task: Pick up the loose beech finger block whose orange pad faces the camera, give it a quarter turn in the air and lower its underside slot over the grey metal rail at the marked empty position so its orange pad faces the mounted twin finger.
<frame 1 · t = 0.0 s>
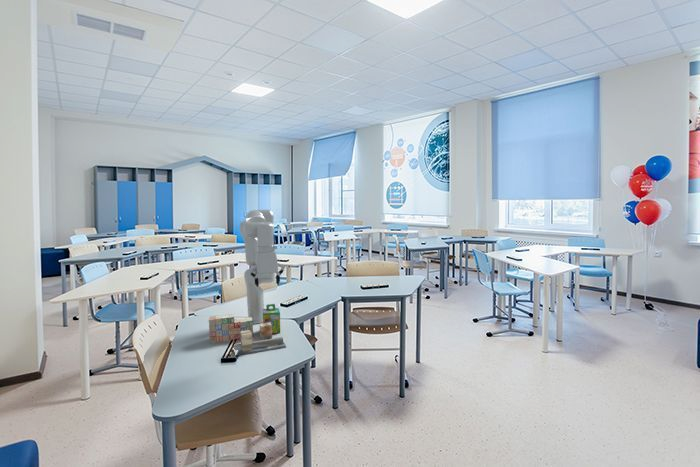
hand: (267, 284, 179), 31 cm above the table, fingers open, 9 cm apart
rail fixture: (259, 348, 182), on the table
chalk box: (271, 331, 205), on the table
finger block: (266, 339, 193), on the table
stack of blocks: (232, 338, 197), on the table
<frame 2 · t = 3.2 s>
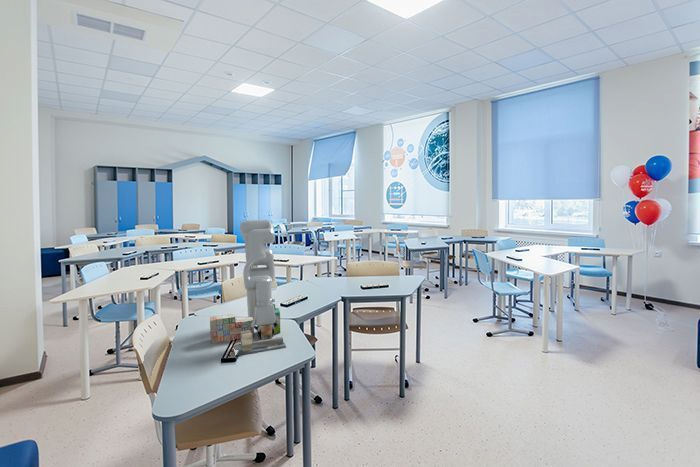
hand: (266, 336, 193), 2 cm above the table, fingers closed on finger block, 5 cm apart
finger block: (266, 339, 193), on the table, touching gripper
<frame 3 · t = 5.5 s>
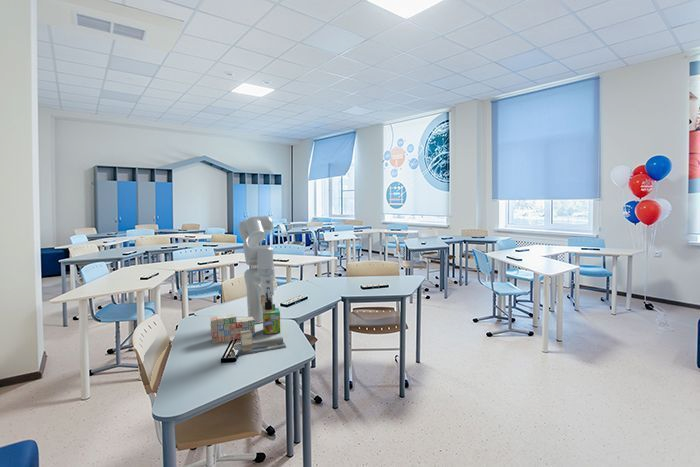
hand: (267, 307, 187), 18 cm above the table, fingers closed on finger block, 5 cm apart
finger block: (267, 310, 187), point 17 cm above the table, touching gripper
everything else where it was.
when the fingers open (3 cm above the table, at t = 8.0 s): finger block stays where it is, resting on rail fixture.
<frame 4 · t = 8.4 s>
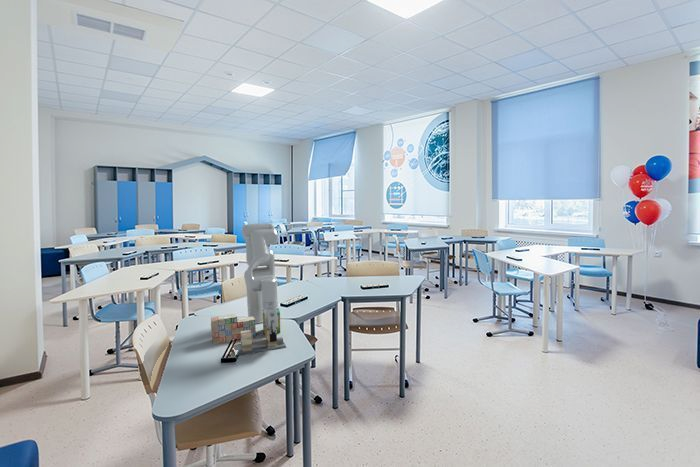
hand: (271, 338, 184), 4 cm above the table, fingers open, 9 cm apart
finger block: (271, 344, 185), point 1 cm above the table, touching rail fixture
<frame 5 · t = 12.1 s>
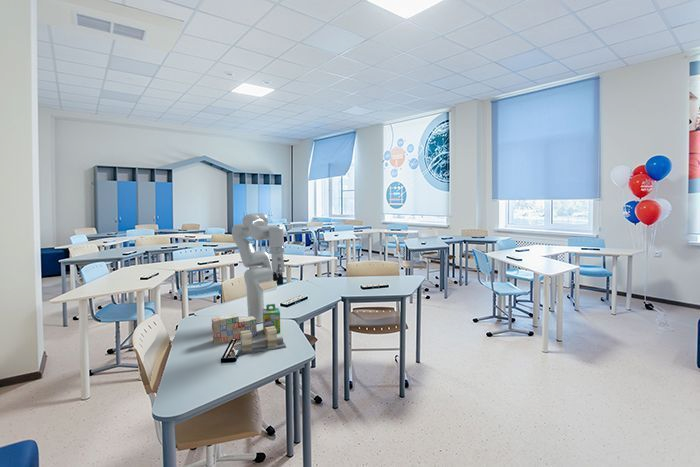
hand: (278, 282, 196), 28 cm above the table, fingers open, 9 cm apart
at the end: finger block 0.1 cm from the target spot on the rail fixture, point 0.9 cm above the rail fixture's base; finger block tilted 0°; the gripper is holding nothing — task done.
